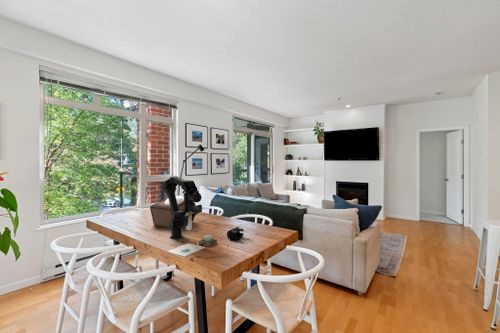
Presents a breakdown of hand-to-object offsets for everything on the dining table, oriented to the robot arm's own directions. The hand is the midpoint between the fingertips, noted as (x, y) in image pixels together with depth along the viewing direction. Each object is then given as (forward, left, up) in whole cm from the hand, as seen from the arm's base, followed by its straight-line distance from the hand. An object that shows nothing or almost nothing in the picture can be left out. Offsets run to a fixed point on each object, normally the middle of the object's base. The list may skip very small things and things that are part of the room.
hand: (188, 225), depth 149 cm
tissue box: (-44, +27, -11) cm, 52 cm away
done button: (+11, +5, -9) cm, 15 cm away
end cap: (+20, +22, -11) cm, 32 cm away
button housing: (+11, +5, -11) cm, 17 cm away
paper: (+7, -9, -11) cm, 16 cm away
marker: (0, 0, -3) cm, 2 cm away
